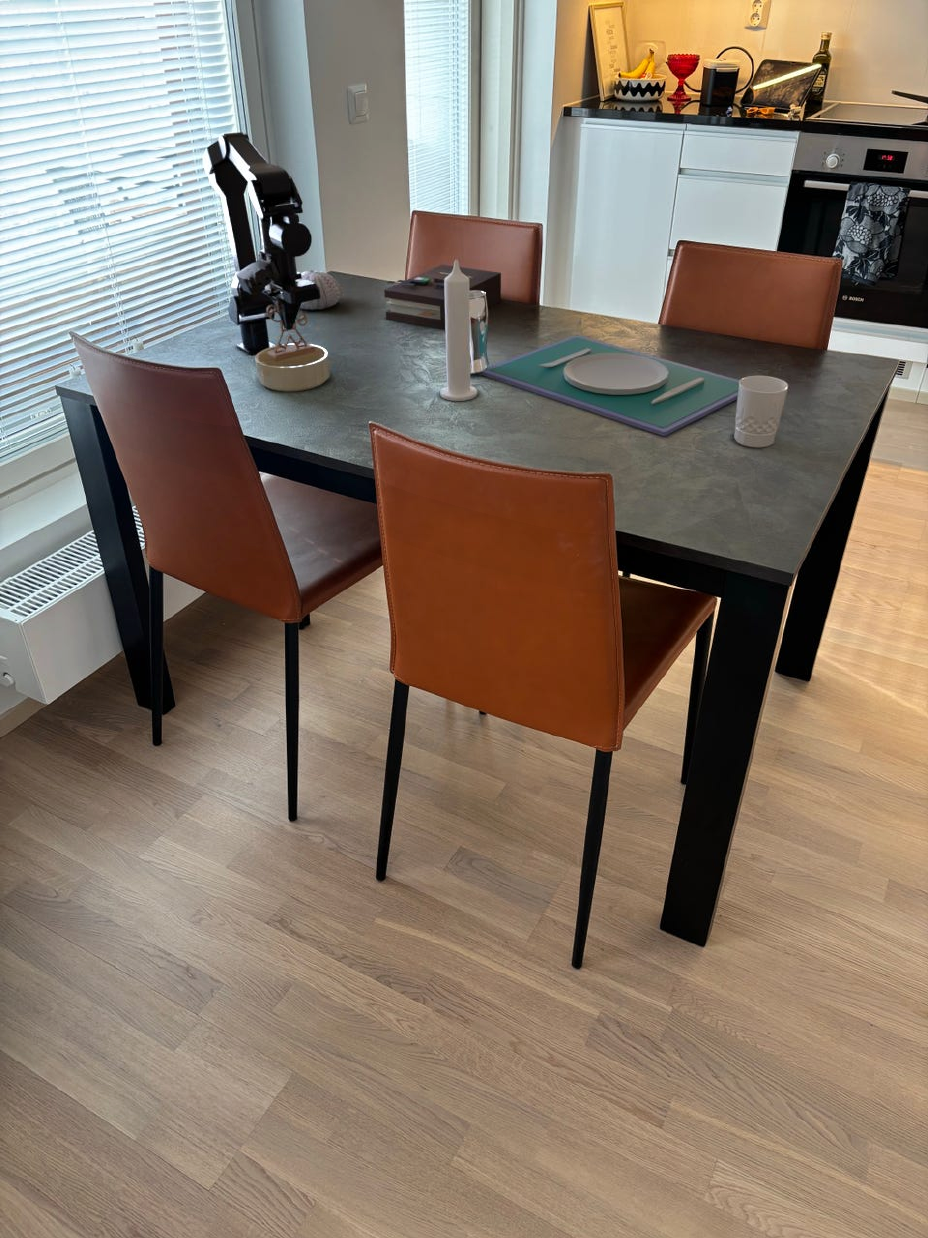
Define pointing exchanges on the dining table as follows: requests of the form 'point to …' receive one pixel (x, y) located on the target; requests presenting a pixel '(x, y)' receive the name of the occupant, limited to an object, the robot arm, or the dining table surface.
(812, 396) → the dining table surface
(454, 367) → the candle
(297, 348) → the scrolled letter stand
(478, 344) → the beer glass
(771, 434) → the white cup
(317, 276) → the sea urchin shell
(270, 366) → the bowl
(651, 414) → the place mat
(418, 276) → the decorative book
